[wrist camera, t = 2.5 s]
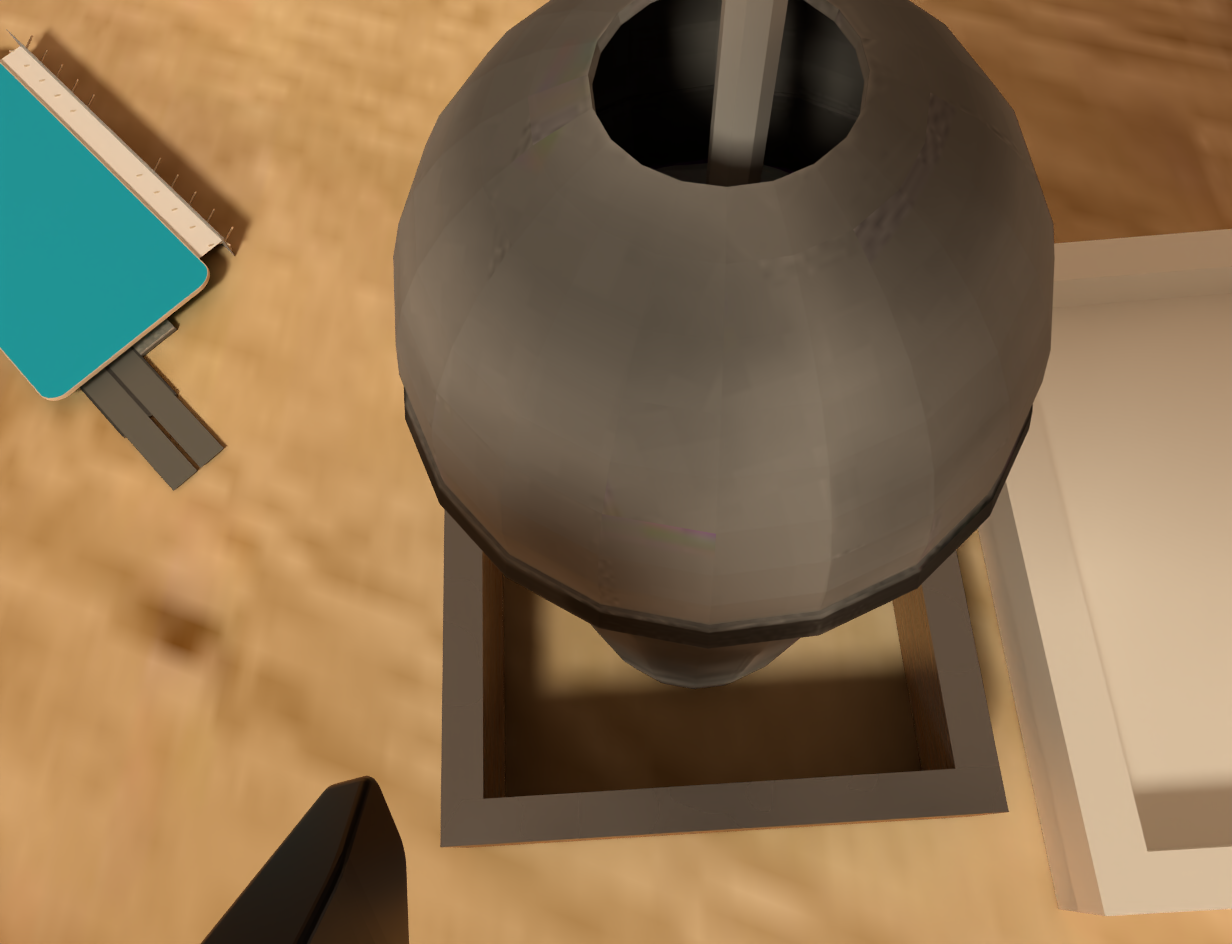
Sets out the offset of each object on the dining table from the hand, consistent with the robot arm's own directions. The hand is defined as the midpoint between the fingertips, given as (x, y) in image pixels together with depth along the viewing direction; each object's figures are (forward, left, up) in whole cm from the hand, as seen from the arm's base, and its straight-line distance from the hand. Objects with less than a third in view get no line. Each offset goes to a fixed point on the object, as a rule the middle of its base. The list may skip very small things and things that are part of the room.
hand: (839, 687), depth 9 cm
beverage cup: (+4, -2, -12) cm, 13 cm away
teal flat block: (+24, +7, -13) cm, 28 cm away
